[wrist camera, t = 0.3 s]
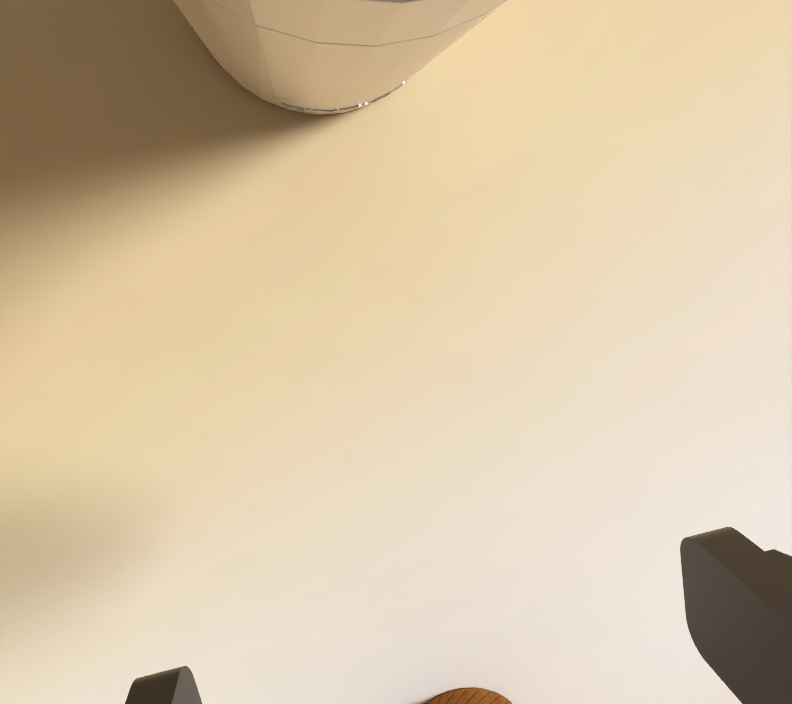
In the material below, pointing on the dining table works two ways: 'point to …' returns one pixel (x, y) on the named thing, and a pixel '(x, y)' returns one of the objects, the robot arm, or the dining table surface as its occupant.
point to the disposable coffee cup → (470, 697)
